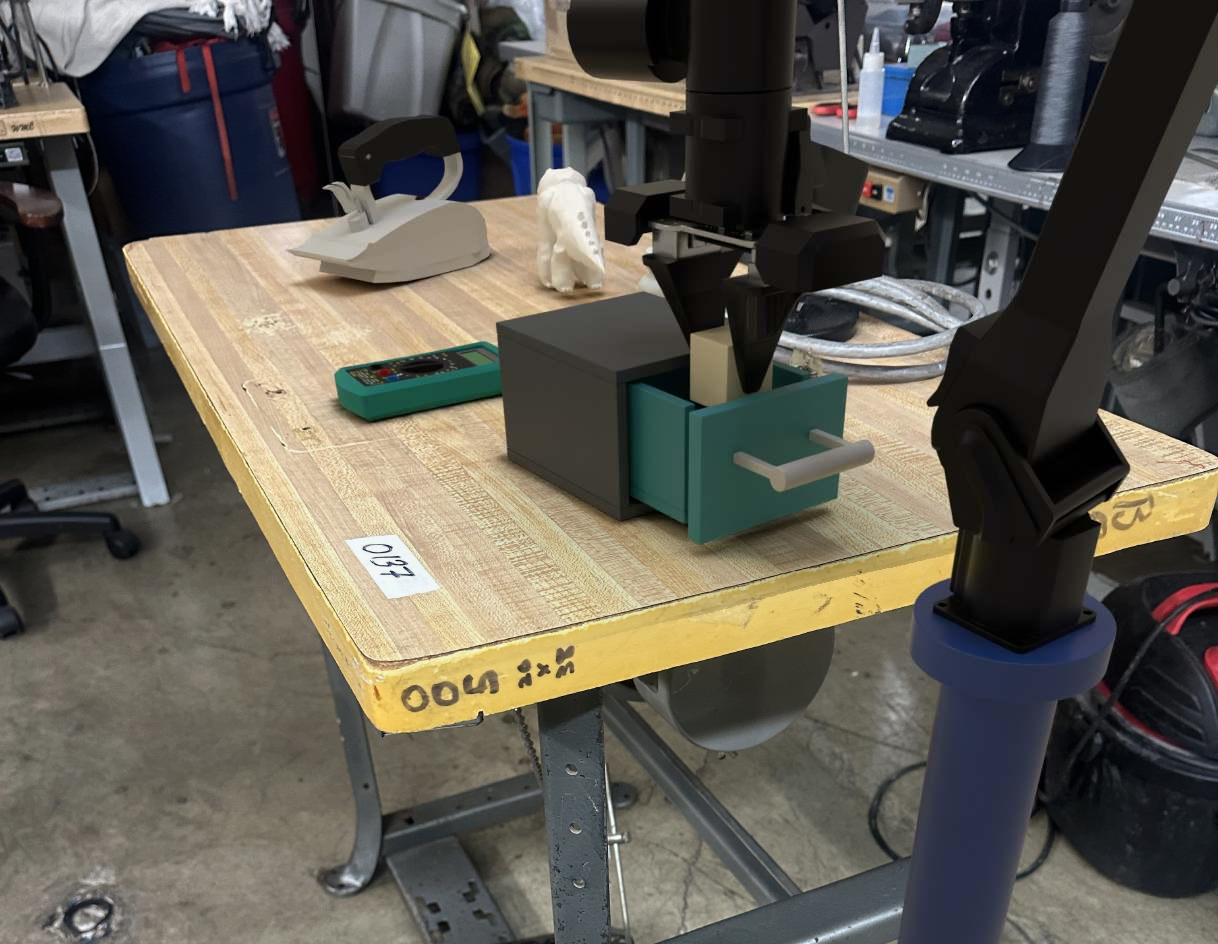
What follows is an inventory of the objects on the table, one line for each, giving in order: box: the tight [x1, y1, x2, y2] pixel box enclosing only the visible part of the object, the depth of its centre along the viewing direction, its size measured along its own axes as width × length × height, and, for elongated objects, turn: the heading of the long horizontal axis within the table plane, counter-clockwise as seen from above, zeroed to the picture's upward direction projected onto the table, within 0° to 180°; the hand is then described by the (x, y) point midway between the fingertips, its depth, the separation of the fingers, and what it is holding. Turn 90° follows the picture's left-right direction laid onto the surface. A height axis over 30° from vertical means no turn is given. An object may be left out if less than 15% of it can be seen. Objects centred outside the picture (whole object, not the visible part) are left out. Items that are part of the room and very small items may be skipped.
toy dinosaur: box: [535, 166, 607, 294], centre depth 120 cm, size 7×24×11 cm, turn 15°
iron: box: [285, 114, 492, 284], centre depth 130 cm, size 11×24×15 cm, turn 139°
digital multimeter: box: [333, 340, 502, 422], centre depth 97 cm, size 7×15×3 cm, turn 119°
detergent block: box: [690, 325, 774, 407], centre depth 71 cm, size 4×4×4 cm
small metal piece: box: [789, 346, 824, 379], centre depth 96 cm, size 6×2×3 cm, turn 22°
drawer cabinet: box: [495, 291, 729, 522], centre depth 81 cm, size 15×13×10 cm
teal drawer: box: [626, 359, 876, 545], centre depth 74 cm, size 18×11×8 cm, turn 34°
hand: (730, 384), depth 72 cm, fingers closed on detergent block, 4 cm apart
